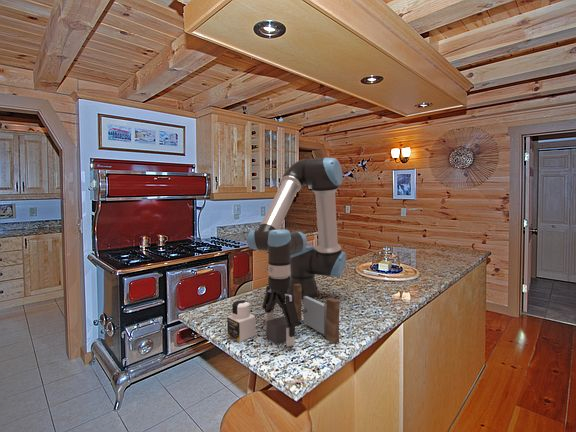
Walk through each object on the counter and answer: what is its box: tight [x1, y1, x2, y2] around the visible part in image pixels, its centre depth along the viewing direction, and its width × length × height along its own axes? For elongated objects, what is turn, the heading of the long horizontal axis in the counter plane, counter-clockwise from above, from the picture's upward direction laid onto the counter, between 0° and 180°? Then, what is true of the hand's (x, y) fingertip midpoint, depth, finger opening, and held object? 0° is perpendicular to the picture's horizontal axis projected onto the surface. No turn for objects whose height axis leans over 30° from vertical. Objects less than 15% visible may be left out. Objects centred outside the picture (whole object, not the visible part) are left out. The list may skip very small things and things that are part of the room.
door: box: [302, 296, 327, 338], centre depth 115 cm, size 3×13×11 cm, turn 33°
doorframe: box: [293, 284, 340, 344], centre depth 116 cm, size 2×24×14 cm, turn 33°
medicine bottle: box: [226, 299, 257, 343], centre depth 111 cm, size 7×7×12 cm
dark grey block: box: [265, 316, 288, 346], centre depth 110 cm, size 7×6×6 cm
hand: (279, 337), depth 110 cm, fingers open, 13 cm apart
